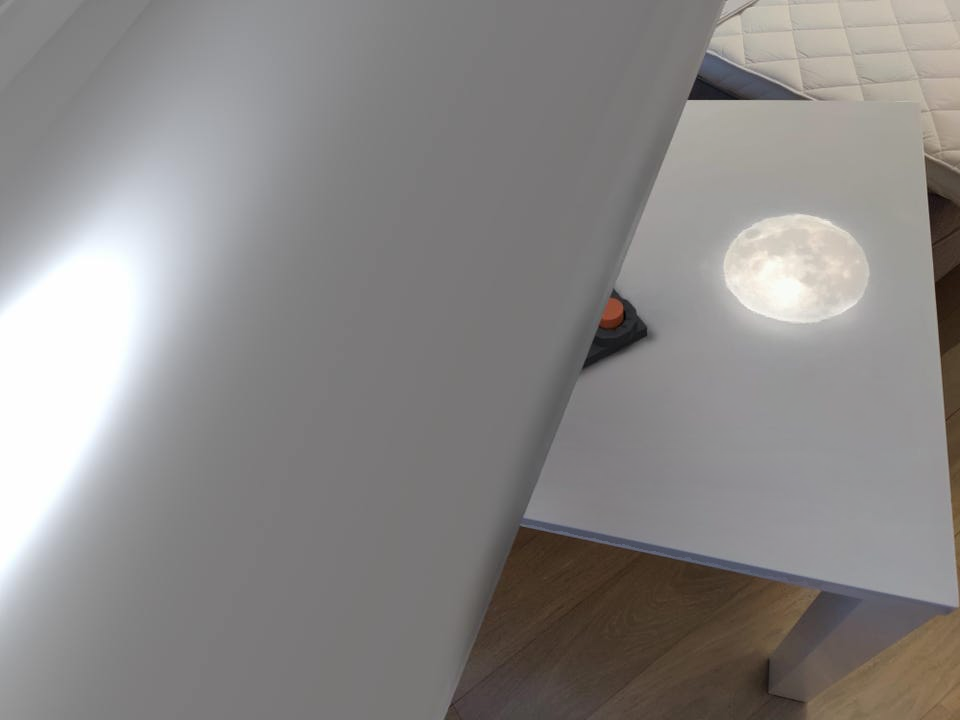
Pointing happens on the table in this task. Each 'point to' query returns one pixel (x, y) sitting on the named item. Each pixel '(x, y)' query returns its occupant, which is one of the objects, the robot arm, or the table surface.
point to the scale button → (612, 314)
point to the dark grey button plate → (616, 334)
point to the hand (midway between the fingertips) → (540, 182)
